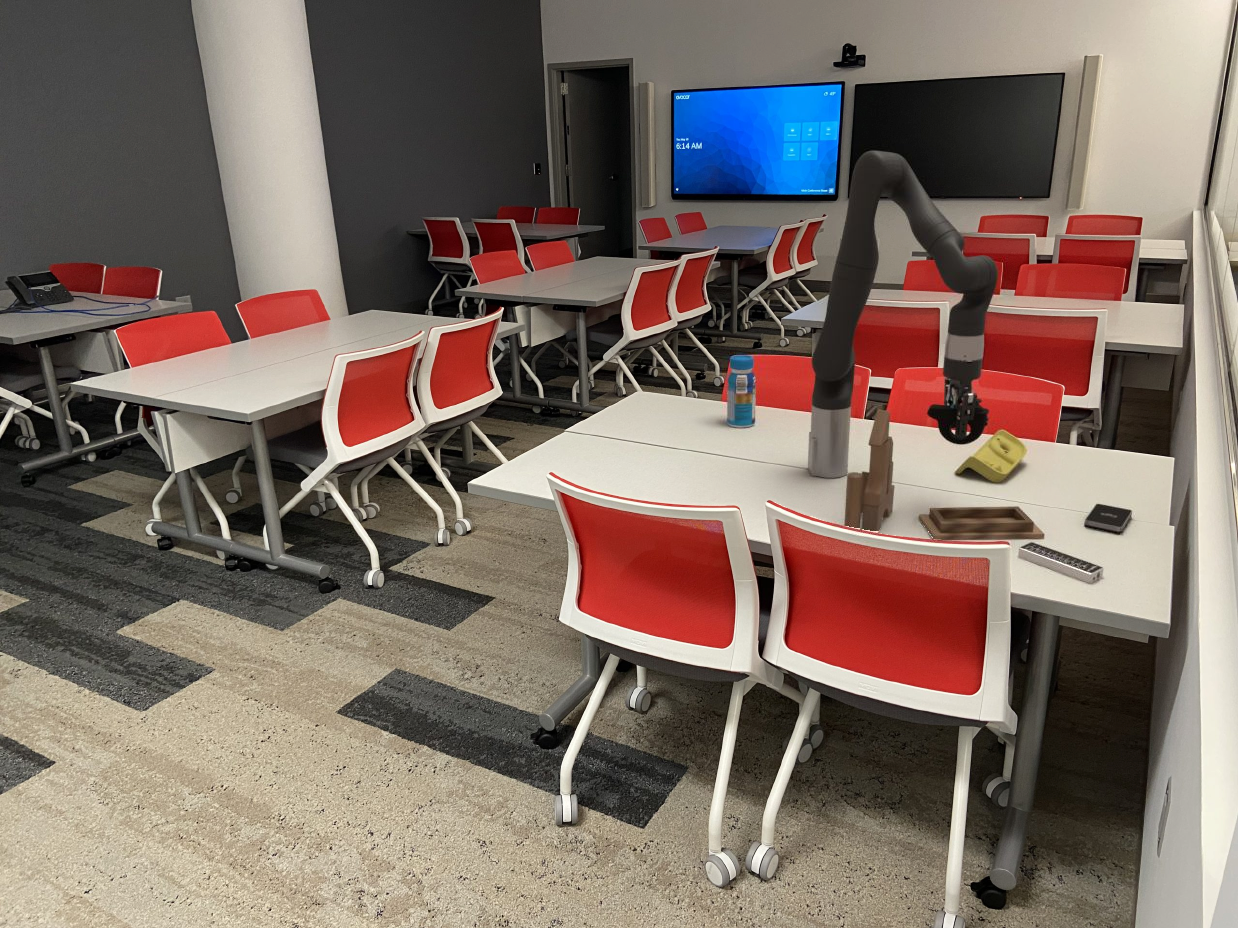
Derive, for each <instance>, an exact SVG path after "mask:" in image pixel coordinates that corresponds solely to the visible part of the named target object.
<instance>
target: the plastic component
mask: <svg viewBox="0 0 1238 928" xmlns="http://www.w3.org/2000/svg"><path fill="white" fill-rule="evenodd" d="M1027 453H1028V449H1027V447H1026V445H1025V444H1024V442H1023V441H1021V440H1020V439H1019V438H1018V437H1016V436H1014V435H1013V434H1011V433H1010V432H1009V431H1006V430H1005V429H999V430H997V431H996V432H995V433H994V434H993V435H992V436H991V437H990V438H989V439H988V440H987V441H985V443H984V444H983V445H982V446H981V447H980V448H979V449H978V450H977V451H976V452H975V453H974V454H973V455H970V456H969V457H968V458H966V460H965V461H963V463H962V464H961V465H960V466H959V467H958V468H957V469H956V470H955V471H954V473H955V474H957V475H960V473H961V474H962V473H963V472H964V471H965V470H966V469H967V468H970V469H972V470H974V471H975V472H977V473H978V474H980V475H981V476H982V477H984V478H986V479H987V480H989V481H990V482H992V483H996V482H999V483H1001V481H1004V480H1005V479H1006V477H1008V476H1009V475H1010V474H1011V473H1012V472H1013V471H1014V470H1015V468H1016V467H1017V466H1018V465H1019V464H1020V463H1021V462H1022V460H1023V459H1024V458H1025V456H1026V455H1027Z"/></svg>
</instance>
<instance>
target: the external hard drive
mask: <svg viewBox="0 0 1238 928" xmlns="http://www.w3.org/2000/svg"><path fill="white" fill-rule="evenodd" d="M1132 515H1133V510H1131V509H1129V508H1128V509H1127V508H1123V507H1118V506H1114V505H1113V506H1112V505H1108V504H1102V503H1095V505H1094V507H1093V508H1092V509H1091V510H1090V512H1089V513H1088V514H1087V516H1086V517H1085V518H1084V528H1086V529H1090V530H1095V531H1098V532H1103V533H1109V534H1114V535H1121V534H1122V533H1123V531H1124V530H1125V528H1126V526H1127V525H1128V523H1129V522H1130V520H1131V519H1132Z"/></svg>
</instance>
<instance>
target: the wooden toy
mask: <svg viewBox="0 0 1238 928" xmlns="http://www.w3.org/2000/svg"><path fill="white" fill-rule="evenodd" d="M890 417H891V411H890V410H885V409H884V410H881V409H878V410H877V411H876V413H875V417H874V421H873V425H872V429H871V433H870V436H869V440H868V446H870V451H869V452H870V453H869V455H870V456H869V469H868V471H861V472H853V471H852V472H847V474H846V490H845V505H844V507H845V509H844V526H849V527H854V528H860V529H861V530H862V529H864V530H870V531H879V530H880V531H881V529H882V522H883V518H887V517H888V518H890V516H891V514H892V513H893V509H894V508H893V507H894V497H895V495H894V494H895V485H894V484H893V475H894V474H893V473H894V461H893V455H894V454H893V453H894V441H893V437H892V436H890V435H889V433H890V420H891V419H890ZM861 519H862V520H861ZM880 528H881V529H880ZM880 531H879V532H880Z"/></svg>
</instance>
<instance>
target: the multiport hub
mask: <svg viewBox="0 0 1238 928" xmlns="http://www.w3.org/2000/svg"><path fill="white" fill-rule="evenodd" d="M1017 557H1018V558H1020V559H1023V560H1025V561H1027V562H1028V561H1029V562H1031V563H1034V564H1036V565H1038V566H1042V567H1044V568H1047V569H1050V570H1052V571H1055V572H1058V573H1060V574H1063V575H1066V576H1068V577H1071V578H1074V579H1076V580H1079V581H1082V582H1085V583H1087V584H1092V583H1094V582H1096V581H1098V580H1100V579H1102V578H1103V575H1104V569H1105V568H1104V567H1103V566H1101V565H1098V564H1095V563H1092V562H1089V561H1086V560H1083V559H1080V558H1079V557H1075V556H1072V555H1069V554H1067V553H1064V552H1061V551H1058V550H1055V549H1052V548H1050V547H1047V546H1044V545H1041V544H1038V543H1035V542H1033V541H1031V542H1030V541H1029V542H1028V543H1026V544H1023V545H1020V546H1019V547H1018V554H1017Z"/></svg>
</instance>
